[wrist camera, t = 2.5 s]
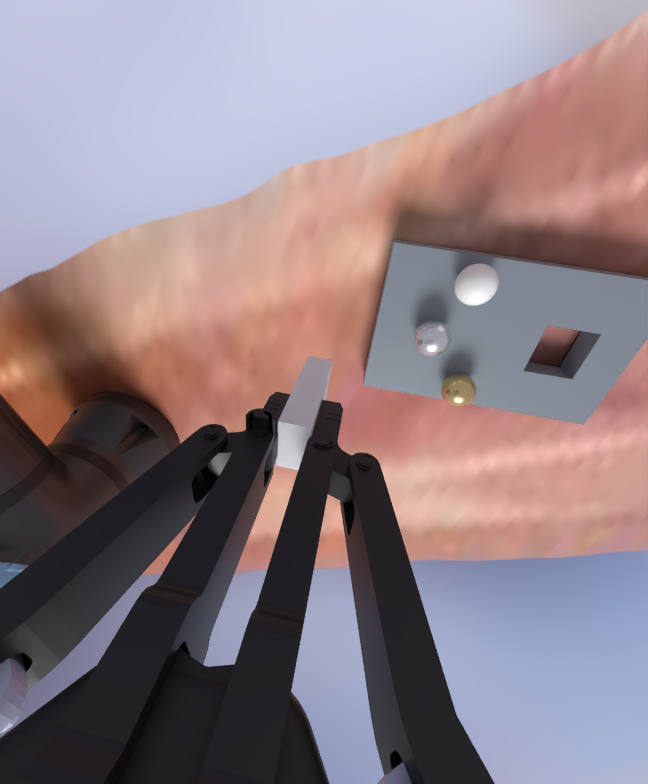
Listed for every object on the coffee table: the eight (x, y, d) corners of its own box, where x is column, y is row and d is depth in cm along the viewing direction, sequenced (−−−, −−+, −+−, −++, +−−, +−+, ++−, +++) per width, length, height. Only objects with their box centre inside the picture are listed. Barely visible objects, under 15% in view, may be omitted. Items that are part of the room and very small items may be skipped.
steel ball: (407, 344, 30) (410, 358, 27) (417, 312, 28) (421, 324, 26) (440, 350, 30) (447, 365, 27) (452, 318, 28) (460, 330, 25)
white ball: (445, 296, 27) (453, 307, 24) (458, 257, 25) (468, 264, 23) (482, 302, 27) (494, 313, 24) (497, 263, 25) (512, 271, 23)
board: (363, 374, 35) (362, 385, 33) (393, 239, 28) (394, 242, 26) (571, 410, 34) (584, 424, 32) (661, 279, 26) (686, 286, 24)
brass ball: (434, 392, 32) (439, 409, 30) (444, 365, 31) (450, 381, 28) (465, 397, 32) (473, 415, 29) (476, 370, 30) (486, 387, 28)
